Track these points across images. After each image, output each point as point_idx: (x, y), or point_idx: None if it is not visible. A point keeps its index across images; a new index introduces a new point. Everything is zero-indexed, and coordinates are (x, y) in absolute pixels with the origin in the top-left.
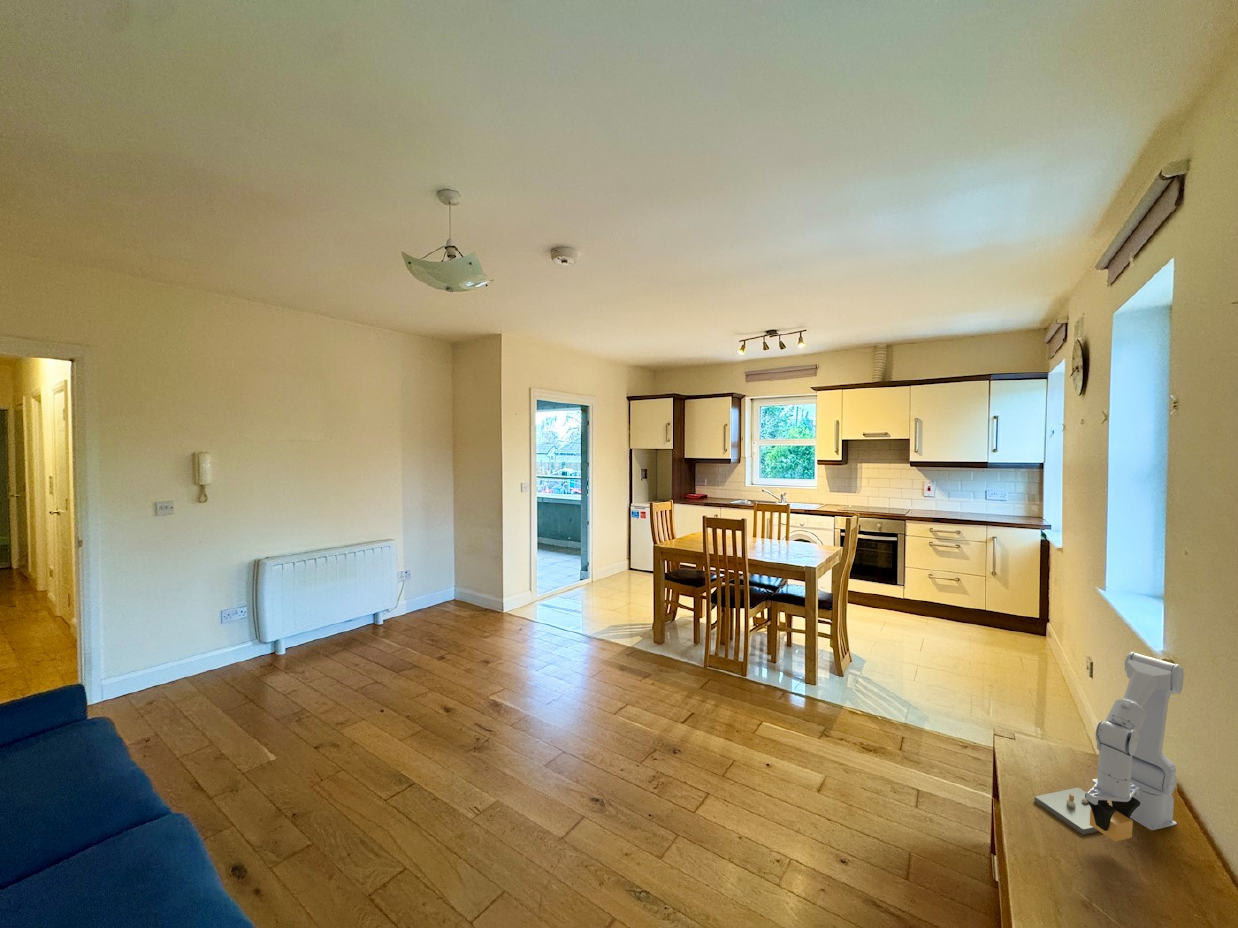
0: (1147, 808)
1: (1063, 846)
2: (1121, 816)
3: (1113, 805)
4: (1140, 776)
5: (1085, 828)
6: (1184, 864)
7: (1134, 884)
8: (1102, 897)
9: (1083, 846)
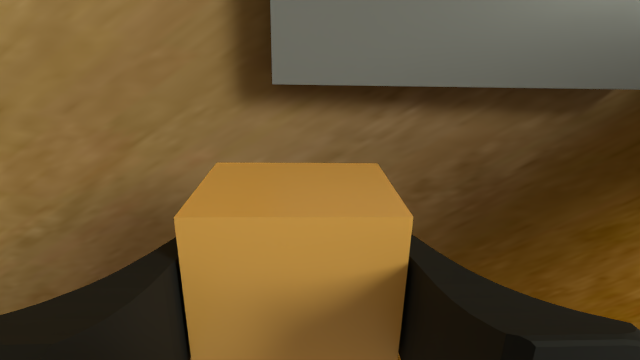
0: None
1: (83, 112)
2: (356, 348)
3: (425, 281)
4: None
5: (295, 81)
6: None
7: None
8: None
9: (197, 137)
